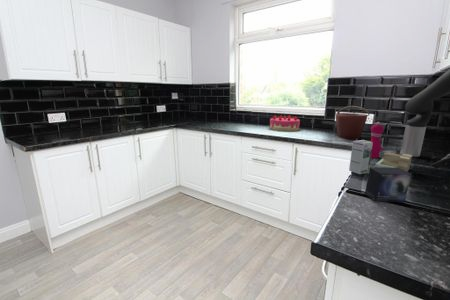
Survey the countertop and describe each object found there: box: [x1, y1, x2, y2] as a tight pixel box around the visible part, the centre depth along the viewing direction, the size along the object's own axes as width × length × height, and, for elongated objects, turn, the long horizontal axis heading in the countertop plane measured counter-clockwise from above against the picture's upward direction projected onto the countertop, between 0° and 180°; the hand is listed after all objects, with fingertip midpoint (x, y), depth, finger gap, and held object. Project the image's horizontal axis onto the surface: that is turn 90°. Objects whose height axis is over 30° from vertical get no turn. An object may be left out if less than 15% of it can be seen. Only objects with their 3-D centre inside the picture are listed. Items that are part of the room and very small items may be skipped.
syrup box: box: [348, 139, 373, 175], centre depth 106 cm, size 6×6×14 cm
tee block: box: [382, 152, 413, 172], centre depth 112 cm, size 10×10×7 cm
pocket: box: [374, 157, 395, 168], centre depth 115 cm, size 15×8×2 cm, turn 135°
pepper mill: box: [369, 121, 385, 159], centre depth 132 cm, size 7×7×20 cm
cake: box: [269, 114, 301, 132], centre depth 227 cm, size 28×28×12 cm
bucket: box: [335, 105, 371, 140], centre depth 188 cm, size 24×22×25 cm
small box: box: [364, 166, 412, 203], centre depth 80 cm, size 11×6×10 cm, turn 90°
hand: (433, 166), depth 103 cm, fingers closed
